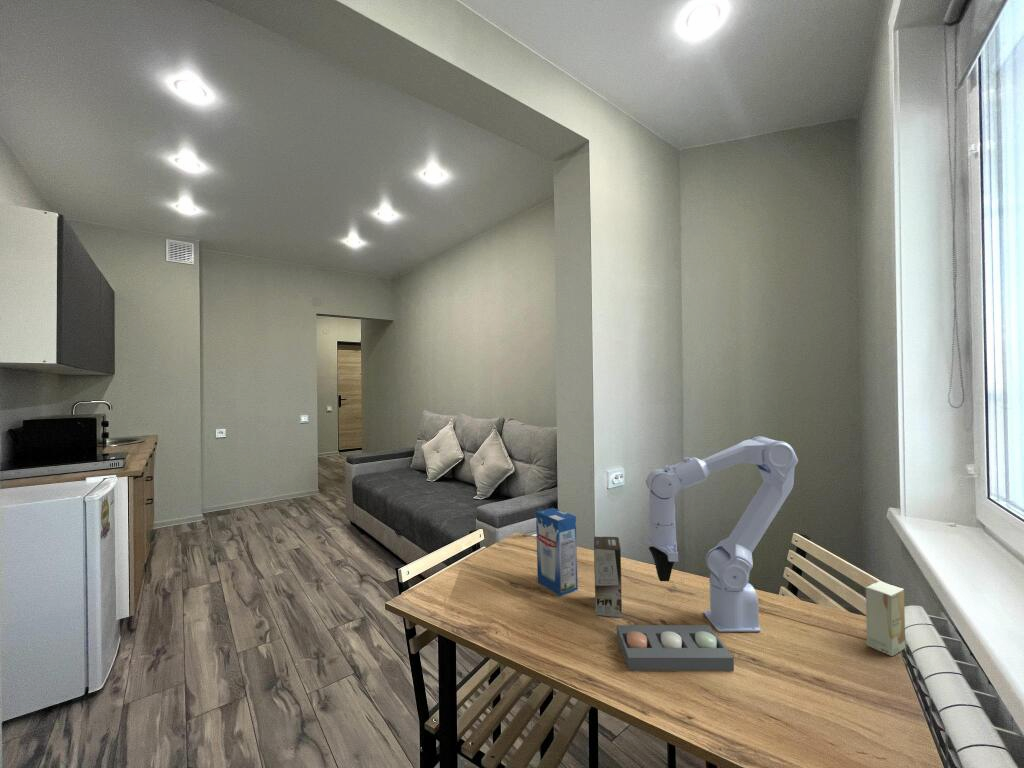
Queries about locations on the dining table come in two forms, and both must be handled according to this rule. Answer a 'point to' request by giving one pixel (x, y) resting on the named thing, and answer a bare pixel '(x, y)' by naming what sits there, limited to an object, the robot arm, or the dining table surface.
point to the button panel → (673, 650)
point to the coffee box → (607, 576)
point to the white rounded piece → (671, 640)
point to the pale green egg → (705, 640)
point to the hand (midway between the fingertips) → (663, 579)
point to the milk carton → (556, 551)
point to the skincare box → (885, 618)
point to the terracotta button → (636, 640)
